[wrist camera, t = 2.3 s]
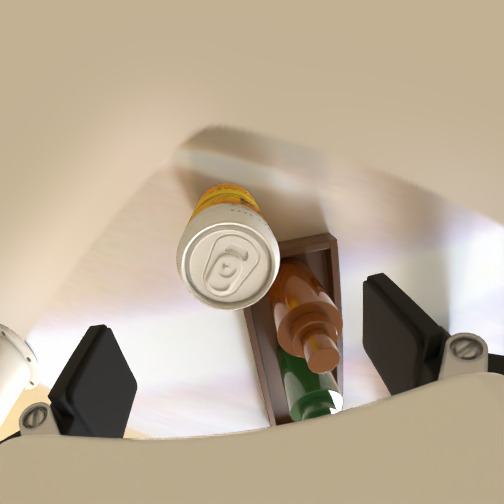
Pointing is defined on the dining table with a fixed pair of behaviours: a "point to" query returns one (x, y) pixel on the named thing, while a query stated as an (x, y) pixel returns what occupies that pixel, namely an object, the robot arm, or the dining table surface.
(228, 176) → the dining table surface
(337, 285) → the tray
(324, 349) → the amber bottle
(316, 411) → the green bottle
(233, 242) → the beer can
